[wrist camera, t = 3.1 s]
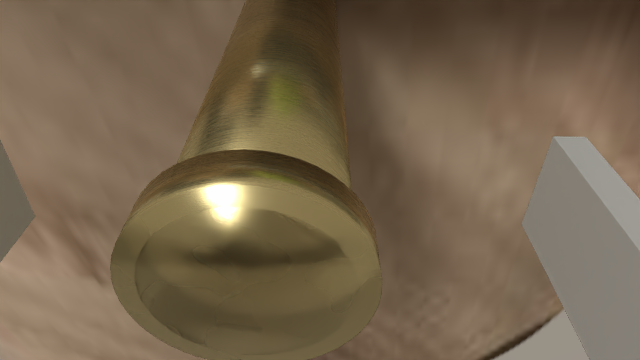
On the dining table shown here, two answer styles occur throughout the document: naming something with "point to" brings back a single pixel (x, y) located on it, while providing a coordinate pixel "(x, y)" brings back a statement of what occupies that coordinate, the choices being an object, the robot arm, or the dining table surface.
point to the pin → (257, 206)
